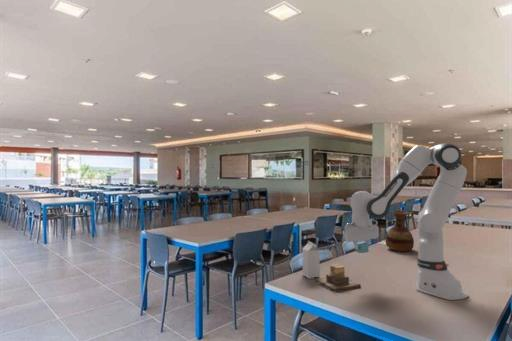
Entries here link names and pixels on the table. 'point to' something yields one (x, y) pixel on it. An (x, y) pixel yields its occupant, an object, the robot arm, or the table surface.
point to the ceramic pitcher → (399, 234)
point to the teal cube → (362, 247)
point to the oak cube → (337, 270)
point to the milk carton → (311, 261)
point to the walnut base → (339, 287)
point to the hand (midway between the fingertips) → (362, 248)
